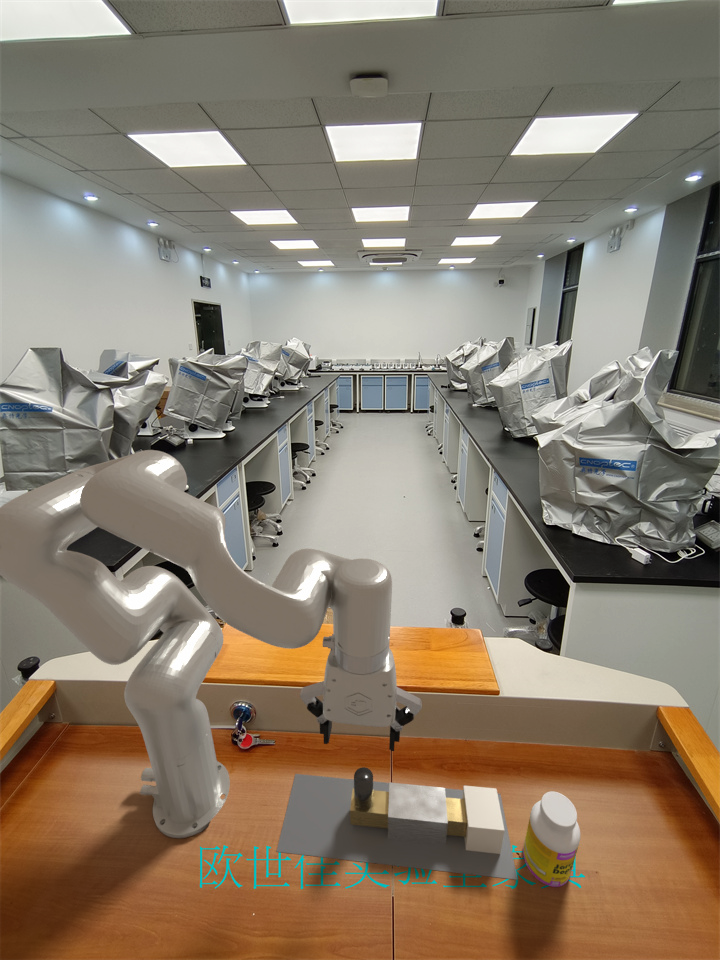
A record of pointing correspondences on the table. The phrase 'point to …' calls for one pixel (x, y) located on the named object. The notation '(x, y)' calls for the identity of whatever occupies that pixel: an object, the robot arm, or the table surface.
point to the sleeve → (417, 813)
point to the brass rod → (374, 806)
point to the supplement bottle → (552, 839)
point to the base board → (375, 833)
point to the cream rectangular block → (483, 820)
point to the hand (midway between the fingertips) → (359, 738)
